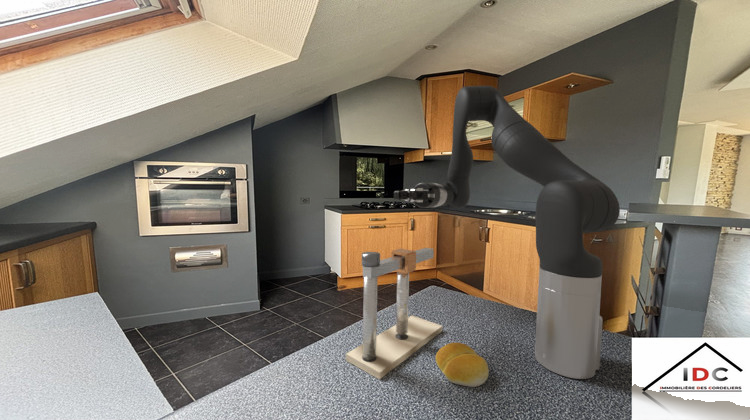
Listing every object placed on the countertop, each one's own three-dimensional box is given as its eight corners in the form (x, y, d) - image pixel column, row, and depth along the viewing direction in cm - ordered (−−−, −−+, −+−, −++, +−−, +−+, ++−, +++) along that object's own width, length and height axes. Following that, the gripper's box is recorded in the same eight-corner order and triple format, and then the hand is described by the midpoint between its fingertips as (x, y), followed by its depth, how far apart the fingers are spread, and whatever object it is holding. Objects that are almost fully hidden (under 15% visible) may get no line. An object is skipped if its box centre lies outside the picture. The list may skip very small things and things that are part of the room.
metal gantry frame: (421, 317, 68) (423, 238, 66) (433, 321, 65) (436, 240, 64) (356, 358, 51) (358, 253, 50) (370, 365, 49) (371, 256, 47)
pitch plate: (411, 320, 69) (412, 314, 69) (442, 331, 64) (442, 325, 64) (345, 360, 52) (345, 353, 52) (379, 379, 47) (379, 371, 47)
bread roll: (455, 394, 44) (456, 369, 44) (429, 360, 53) (430, 339, 52) (500, 384, 46) (501, 361, 46) (468, 354, 55) (469, 334, 55)
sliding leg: (398, 328, 61) (399, 248, 60) (414, 335, 58) (416, 251, 57) (389, 334, 59) (391, 250, 58) (405, 340, 56) (407, 253, 55)
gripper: (411, 183, 91) (376, 180, 78) (450, 182, 82) (418, 180, 69) (411, 206, 91) (376, 208, 78) (449, 208, 83) (417, 211, 70)
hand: (396, 195), depth 74 cm, fingers closed
